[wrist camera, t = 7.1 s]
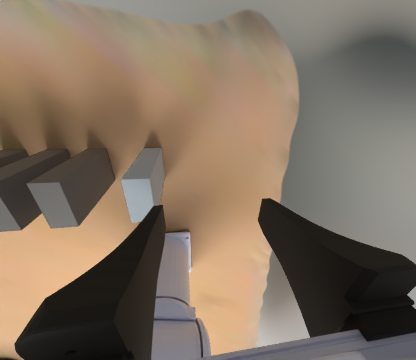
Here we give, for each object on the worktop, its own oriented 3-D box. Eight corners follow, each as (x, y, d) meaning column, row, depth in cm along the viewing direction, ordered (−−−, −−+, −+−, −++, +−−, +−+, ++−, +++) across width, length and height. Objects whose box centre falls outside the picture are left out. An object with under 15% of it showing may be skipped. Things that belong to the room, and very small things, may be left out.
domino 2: (106, 148, 18) (59, 182, 11) (114, 180, 20) (78, 226, 13) (86, 149, 18) (25, 183, 11) (96, 181, 20) (49, 228, 13)
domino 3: (161, 147, 19) (149, 178, 12) (164, 178, 21) (155, 220, 14) (143, 148, 19) (119, 179, 12) (148, 179, 21) (130, 222, 14)
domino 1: (67, 149, 18) (-9, 184, 11) (79, 181, 20) (21, 230, 13) (45, 149, 18) (-46, 186, 11) (60, 182, 19) (-10, 232, 12)
